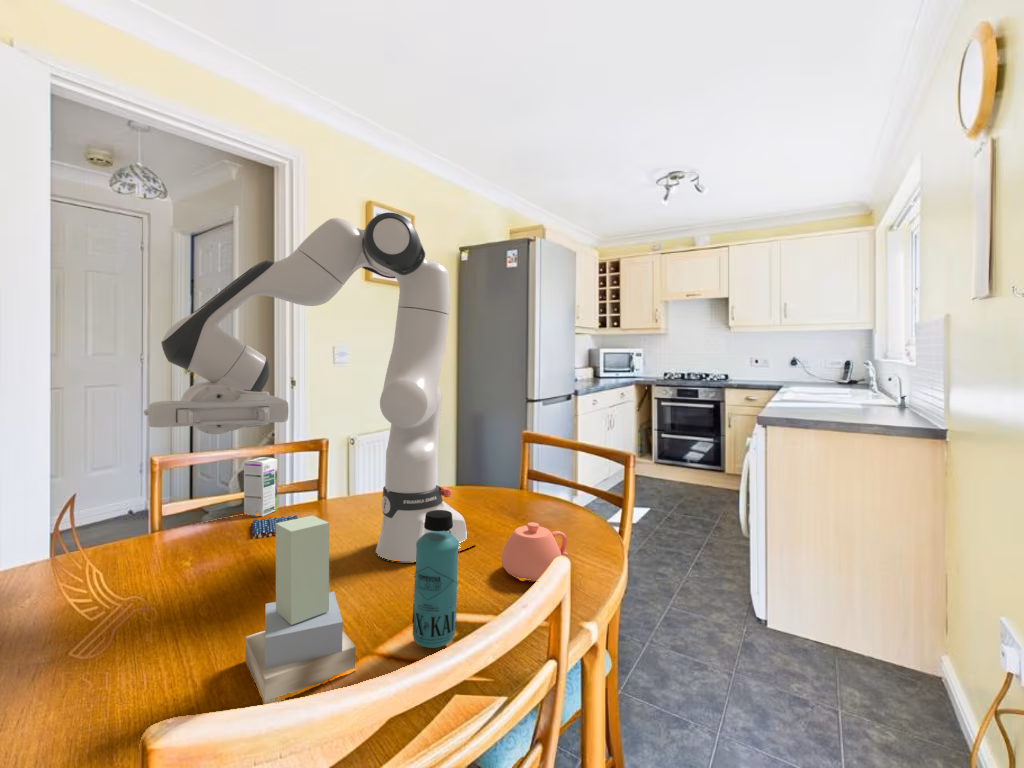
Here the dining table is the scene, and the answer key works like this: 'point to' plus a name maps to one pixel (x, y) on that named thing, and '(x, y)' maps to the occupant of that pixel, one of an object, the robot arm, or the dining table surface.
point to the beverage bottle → (435, 582)
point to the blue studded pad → (267, 526)
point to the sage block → (302, 568)
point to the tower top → (302, 636)
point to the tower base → (294, 668)
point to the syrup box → (260, 486)
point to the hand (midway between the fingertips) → (230, 417)
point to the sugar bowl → (531, 551)
